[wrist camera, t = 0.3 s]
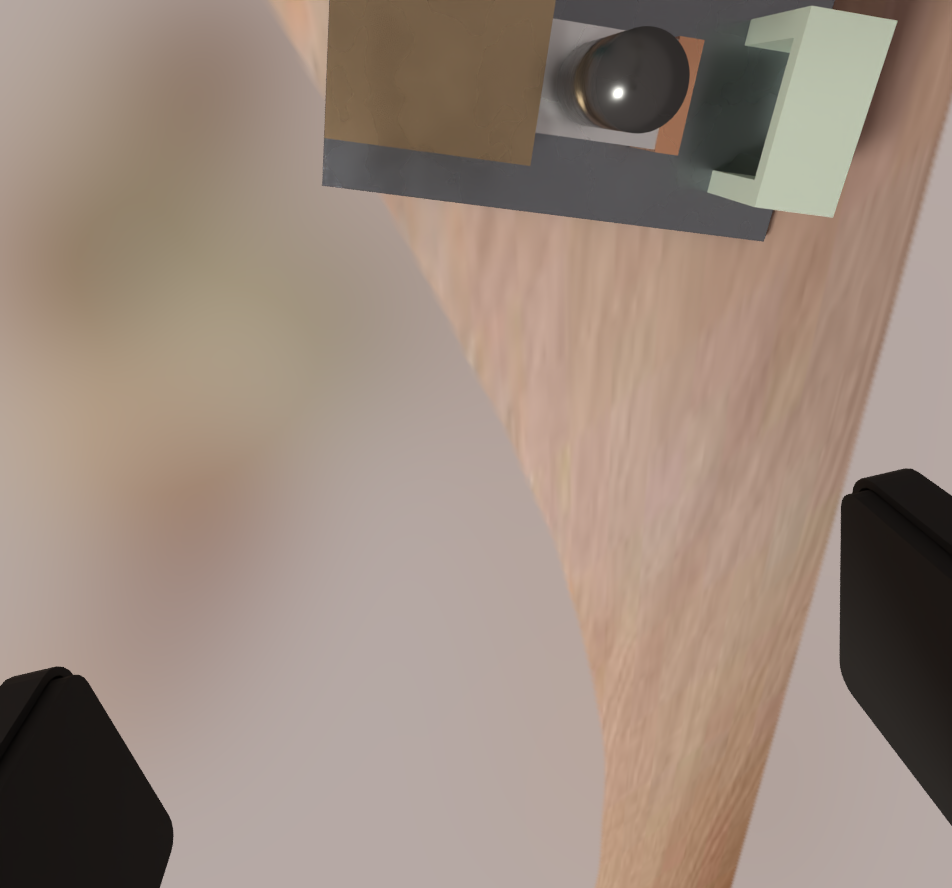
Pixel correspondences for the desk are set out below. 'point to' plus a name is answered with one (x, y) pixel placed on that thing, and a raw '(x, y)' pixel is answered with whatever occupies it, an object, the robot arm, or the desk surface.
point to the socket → (812, 108)
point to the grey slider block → (618, 85)
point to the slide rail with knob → (517, 106)
